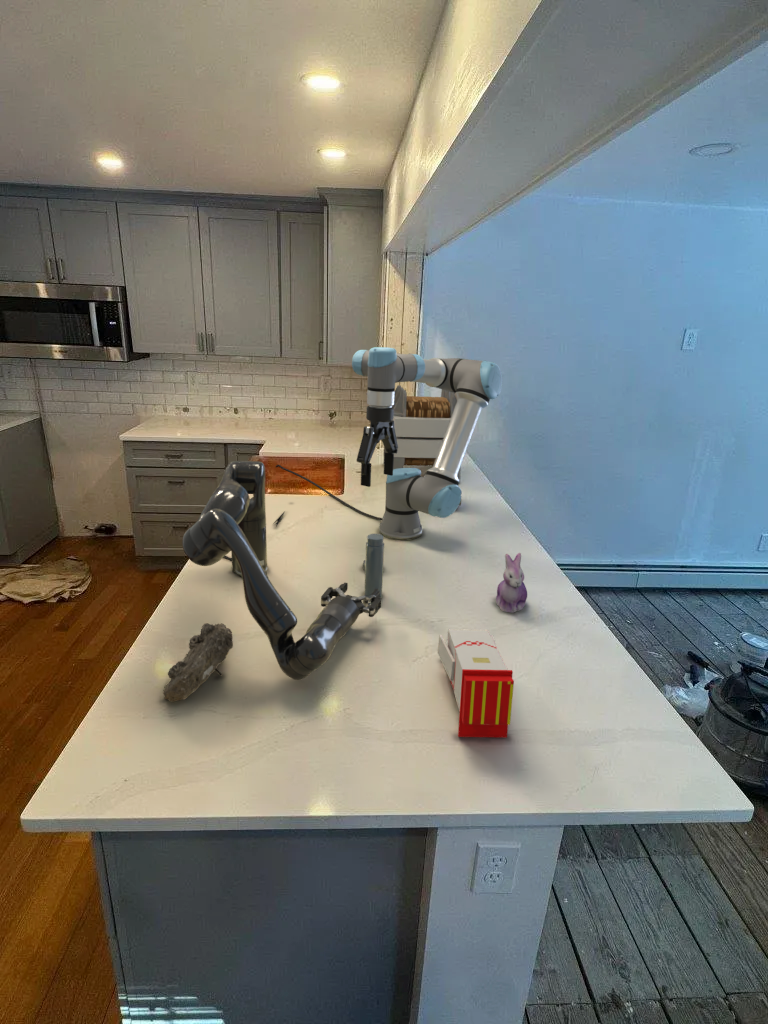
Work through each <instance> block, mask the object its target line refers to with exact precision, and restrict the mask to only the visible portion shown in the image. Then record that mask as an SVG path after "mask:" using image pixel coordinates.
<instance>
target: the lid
mask: <svg viewBox="0 0 768 1024" xmlns="http://www.w3.org/2000/svg"><path fill="white" fill-rule="evenodd" d="M362 561H363V562H362V570H363V571H364V572H365V559H364V560H362Z"/></svg>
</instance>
